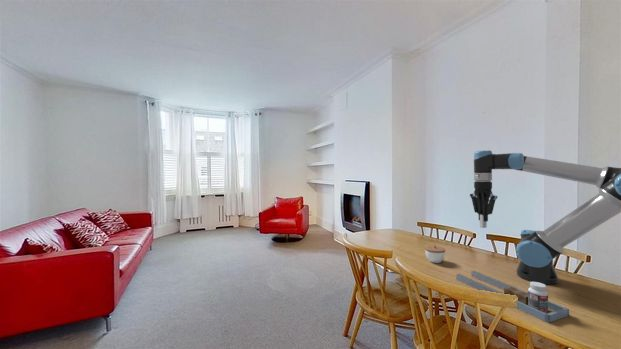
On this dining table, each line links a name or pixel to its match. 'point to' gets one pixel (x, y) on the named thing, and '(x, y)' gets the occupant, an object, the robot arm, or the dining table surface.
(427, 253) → the lidded jar
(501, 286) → the slot rails
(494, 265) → the dining table surface
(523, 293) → the walnut chip
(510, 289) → the walnut chip
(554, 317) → the corral tray
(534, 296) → the pill bottle
